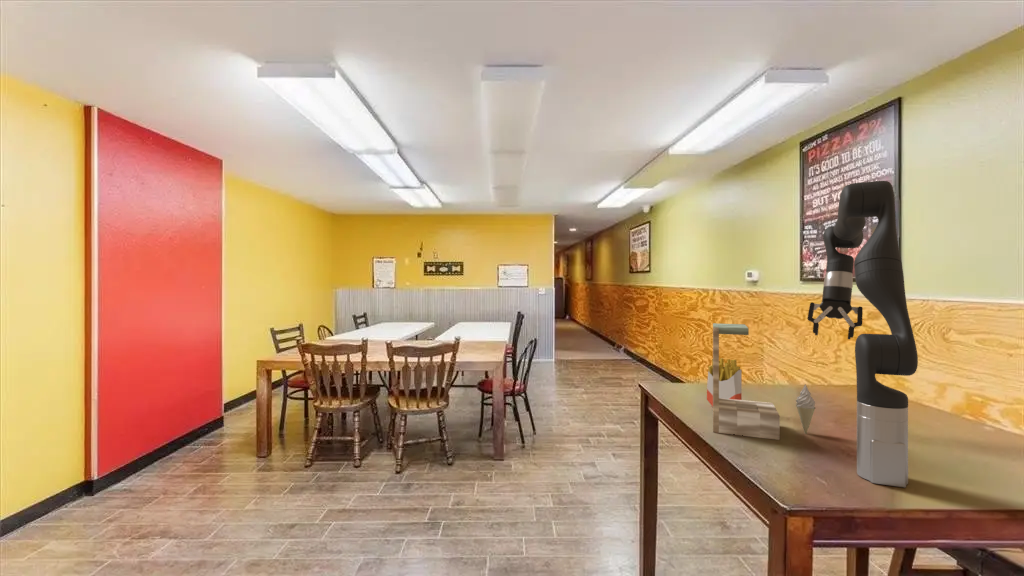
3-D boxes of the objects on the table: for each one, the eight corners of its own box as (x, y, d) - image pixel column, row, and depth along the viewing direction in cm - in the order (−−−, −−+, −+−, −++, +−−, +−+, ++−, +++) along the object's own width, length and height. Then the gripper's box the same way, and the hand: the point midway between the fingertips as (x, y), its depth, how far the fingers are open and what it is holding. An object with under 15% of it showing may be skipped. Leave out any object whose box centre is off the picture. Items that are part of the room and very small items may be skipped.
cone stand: (779, 439, 132) (779, 329, 132) (713, 432, 139) (713, 327, 139) (772, 424, 146) (772, 325, 146) (712, 418, 153) (712, 323, 153)
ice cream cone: (809, 430, 140) (809, 382, 140) (819, 436, 135) (819, 385, 135) (792, 430, 140) (792, 381, 140) (801, 435, 135) (801, 385, 135)
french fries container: (734, 413, 160) (734, 361, 160) (706, 406, 169) (706, 357, 169) (741, 411, 163) (741, 360, 163) (713, 404, 172) (713, 356, 172)
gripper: (810, 283, 147) (805, 333, 146) (866, 286, 139) (860, 339, 138) (811, 287, 153) (806, 334, 152) (865, 290, 145) (860, 341, 144)
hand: (832, 337), depth 145 cm, fingers open, 8 cm apart
